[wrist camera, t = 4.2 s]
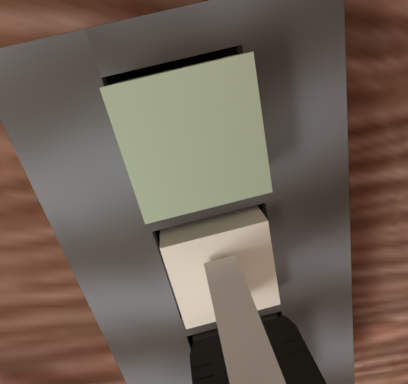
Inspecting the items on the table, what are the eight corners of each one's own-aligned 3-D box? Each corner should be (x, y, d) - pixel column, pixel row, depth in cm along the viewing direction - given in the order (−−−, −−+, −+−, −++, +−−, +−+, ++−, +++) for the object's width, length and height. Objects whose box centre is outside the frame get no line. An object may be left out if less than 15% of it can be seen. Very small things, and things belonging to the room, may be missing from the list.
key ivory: (160, 209, 17) (159, 248, 14) (245, 188, 17) (268, 220, 14) (181, 279, 19) (186, 329, 16) (257, 259, 19) (280, 304, 16)
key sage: (116, 82, 13) (99, 88, 10) (228, 56, 13) (253, 51, 10) (149, 186, 15) (145, 224, 12) (246, 162, 15) (272, 192, 12)
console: (37, 59, 17) (-31, 55, 11) (281, 3, 17) (343, -31, 11) (173, 400, 29) (176, 487, 23) (316, 360, 29) (355, 436, 23)
